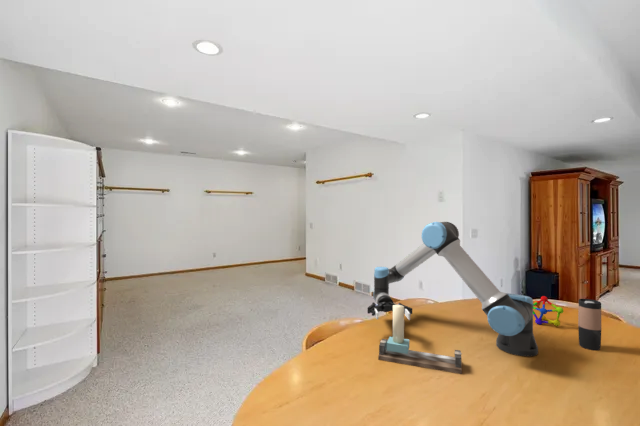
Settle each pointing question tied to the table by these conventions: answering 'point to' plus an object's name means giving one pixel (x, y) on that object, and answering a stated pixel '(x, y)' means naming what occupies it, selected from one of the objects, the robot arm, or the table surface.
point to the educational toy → (544, 311)
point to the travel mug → (589, 324)
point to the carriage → (398, 332)
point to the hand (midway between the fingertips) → (393, 316)
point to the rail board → (422, 359)
